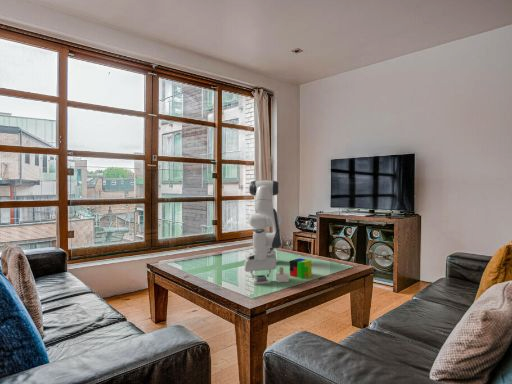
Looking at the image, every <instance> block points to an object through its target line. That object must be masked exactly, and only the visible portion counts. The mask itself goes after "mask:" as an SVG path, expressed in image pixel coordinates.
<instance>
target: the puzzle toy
mask: <svg viewBox="0 0 512 384" xmlns="http://www.w3.org/2000/svg"><path fill="white" fill-rule="evenodd" d="M311 276H312V260H311V259H310V260H309V259H305V258H301V257H299V258H295V259H291V260H289V277H293V278H297V279H298V278H299V279H305V278H308V277H311Z"/></svg>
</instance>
